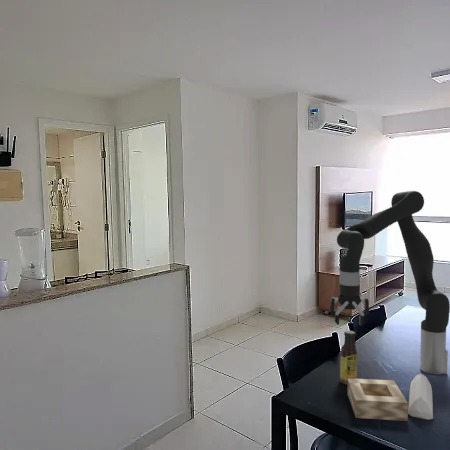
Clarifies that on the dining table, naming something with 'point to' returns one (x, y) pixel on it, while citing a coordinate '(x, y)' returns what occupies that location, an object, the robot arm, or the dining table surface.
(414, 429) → the dining table surface
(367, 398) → the socket block
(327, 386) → the dining table surface
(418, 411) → the crystal
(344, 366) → the sauce bottle
